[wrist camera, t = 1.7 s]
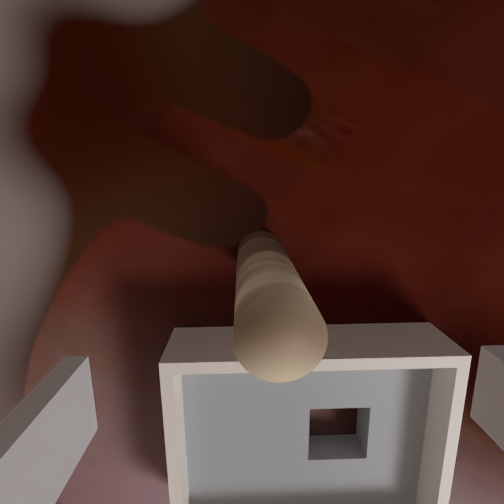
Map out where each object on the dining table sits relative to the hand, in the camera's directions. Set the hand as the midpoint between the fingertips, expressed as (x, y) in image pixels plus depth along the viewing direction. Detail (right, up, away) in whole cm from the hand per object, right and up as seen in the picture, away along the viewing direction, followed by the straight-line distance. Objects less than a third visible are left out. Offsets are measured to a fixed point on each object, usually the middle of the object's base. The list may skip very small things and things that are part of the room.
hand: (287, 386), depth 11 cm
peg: (0, +4, +18) cm, 19 cm away
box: (+4, -12, +22) cm, 25 cm away
